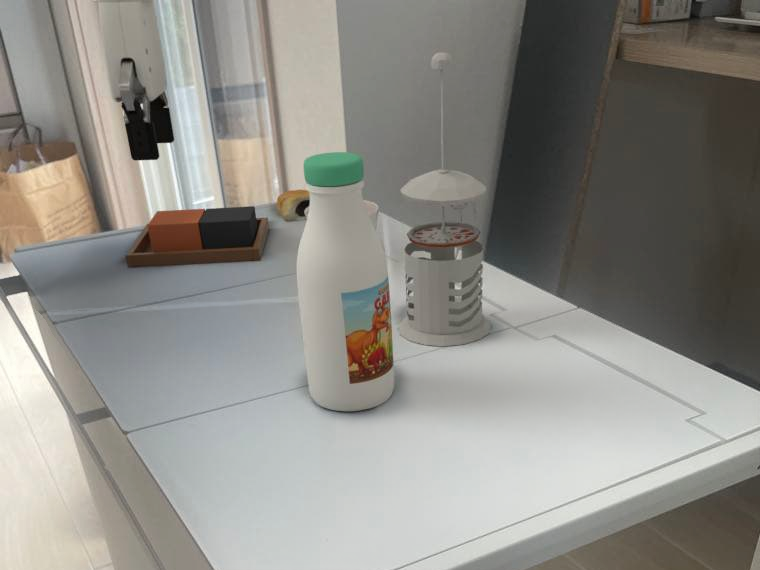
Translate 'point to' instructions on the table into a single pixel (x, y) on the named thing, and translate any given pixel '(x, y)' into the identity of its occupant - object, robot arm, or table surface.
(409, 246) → the french press
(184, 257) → the tray
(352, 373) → the milk bottle
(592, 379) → the table surface
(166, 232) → the orange block
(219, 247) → the seated pad
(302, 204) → the pastry
